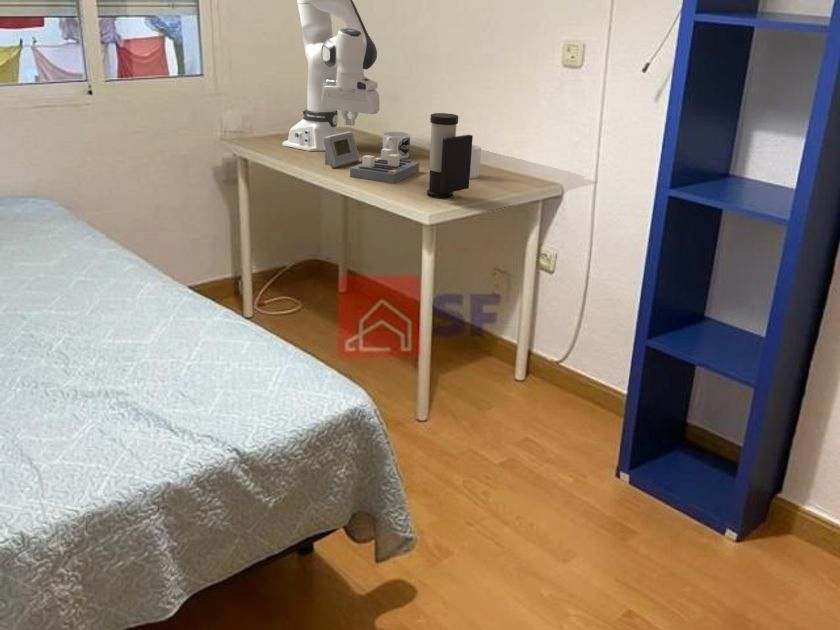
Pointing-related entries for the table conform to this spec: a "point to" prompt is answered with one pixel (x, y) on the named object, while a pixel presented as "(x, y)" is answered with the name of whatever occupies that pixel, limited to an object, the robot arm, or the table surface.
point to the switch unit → (385, 171)
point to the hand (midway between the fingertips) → (349, 125)
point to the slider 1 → (368, 161)
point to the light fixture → (448, 157)
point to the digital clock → (340, 149)
